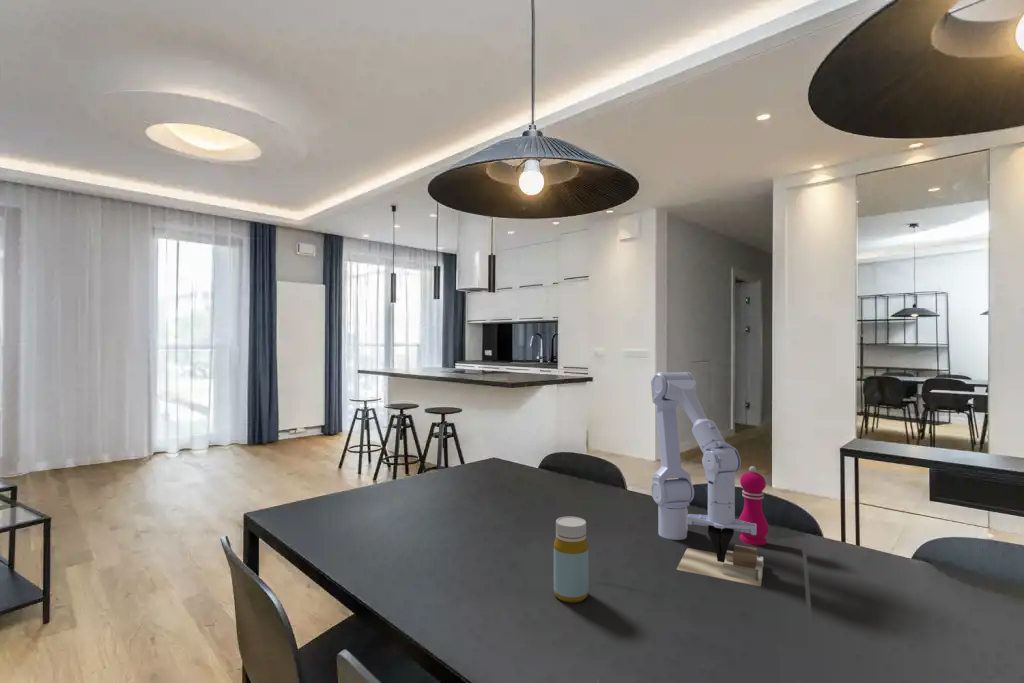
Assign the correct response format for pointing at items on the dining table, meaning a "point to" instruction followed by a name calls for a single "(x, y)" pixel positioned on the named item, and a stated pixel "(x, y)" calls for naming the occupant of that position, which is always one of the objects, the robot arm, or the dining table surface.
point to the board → (720, 567)
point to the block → (745, 556)
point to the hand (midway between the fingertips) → (721, 560)
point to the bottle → (571, 560)
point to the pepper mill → (753, 506)
